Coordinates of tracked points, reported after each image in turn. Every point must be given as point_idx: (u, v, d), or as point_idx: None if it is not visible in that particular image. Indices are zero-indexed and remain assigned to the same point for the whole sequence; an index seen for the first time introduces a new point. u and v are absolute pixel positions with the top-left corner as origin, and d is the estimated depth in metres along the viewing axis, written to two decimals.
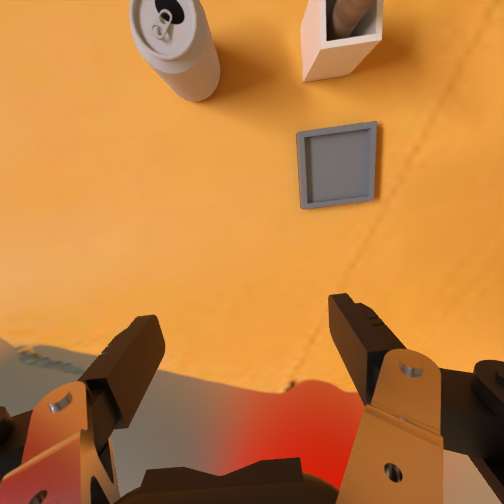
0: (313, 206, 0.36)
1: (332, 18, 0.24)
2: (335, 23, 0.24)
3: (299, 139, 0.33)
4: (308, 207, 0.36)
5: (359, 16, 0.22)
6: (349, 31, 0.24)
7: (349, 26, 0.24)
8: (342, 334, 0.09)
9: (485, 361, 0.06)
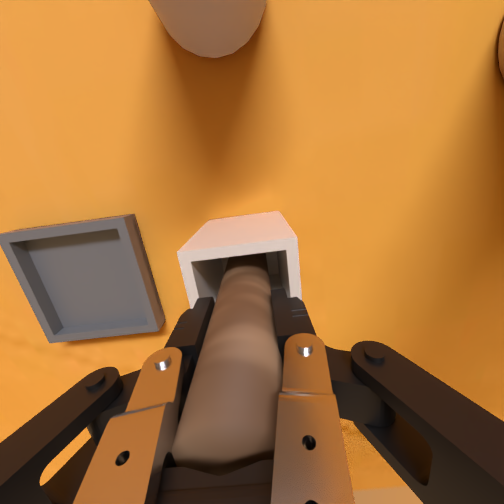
0: (7, 253, 0.20)
1: (237, 267, 0.13)
2: (229, 272, 0.13)
3: (112, 220, 0.19)
4: (2, 245, 0.19)
5: None
6: None
7: None
8: None
9: (356, 345, 0.07)
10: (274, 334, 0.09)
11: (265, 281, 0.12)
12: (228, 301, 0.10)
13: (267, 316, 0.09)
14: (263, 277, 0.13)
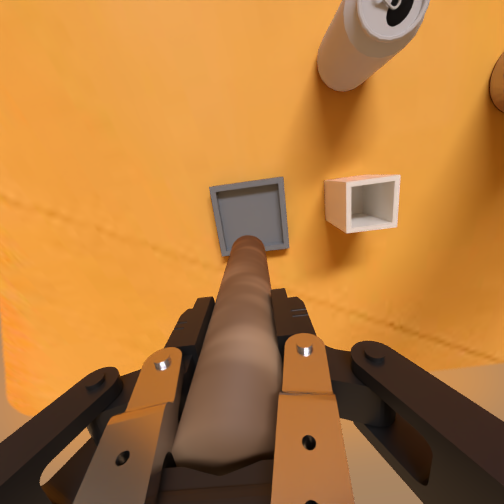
0: (212, 198, 0.35)
1: (237, 267, 0.13)
2: (229, 272, 0.13)
3: (276, 178, 0.34)
4: (211, 193, 0.35)
5: None
6: None
7: None
8: None
9: (356, 345, 0.07)
10: (274, 335, 0.09)
11: (265, 281, 0.12)
12: (229, 302, 0.10)
13: (267, 316, 0.09)
14: (263, 277, 0.13)
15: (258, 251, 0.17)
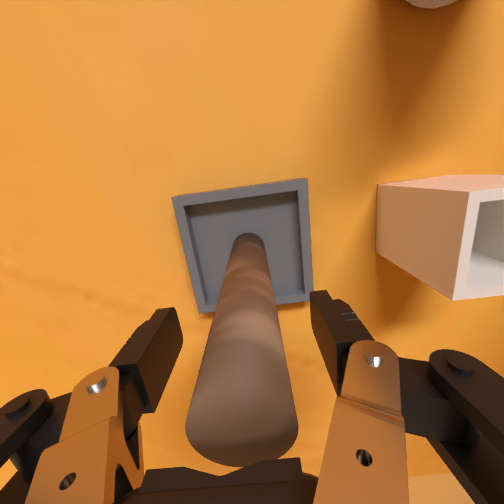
0: (179, 217, 0.19)
1: (239, 261, 0.14)
2: (231, 266, 0.14)
3: (294, 181, 0.18)
4: (176, 208, 0.19)
5: None
6: None
7: None
8: (319, 328, 0.09)
9: (437, 351, 0.06)
10: (275, 320, 0.09)
11: (266, 274, 0.13)
12: (233, 291, 0.11)
13: (269, 304, 0.10)
14: (264, 271, 0.14)
15: (258, 247, 0.17)
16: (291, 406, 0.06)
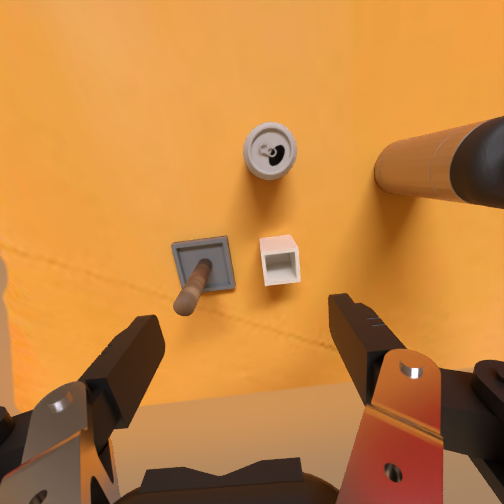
0: (174, 253, 0.46)
1: (194, 272, 0.41)
2: (191, 274, 0.41)
3: (221, 239, 0.45)
4: (172, 249, 0.46)
5: None
6: None
7: None
8: (342, 334, 0.09)
9: (485, 361, 0.06)
10: (197, 289, 0.36)
11: (202, 277, 0.40)
12: (188, 282, 0.37)
13: (197, 285, 0.37)
14: (202, 276, 0.40)
15: (205, 266, 0.44)
16: (192, 302, 0.33)
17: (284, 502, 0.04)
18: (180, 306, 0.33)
